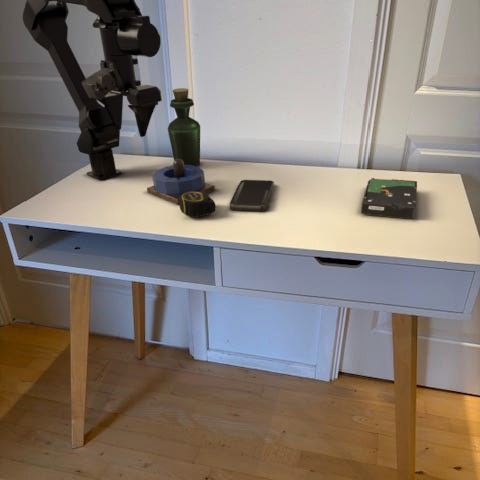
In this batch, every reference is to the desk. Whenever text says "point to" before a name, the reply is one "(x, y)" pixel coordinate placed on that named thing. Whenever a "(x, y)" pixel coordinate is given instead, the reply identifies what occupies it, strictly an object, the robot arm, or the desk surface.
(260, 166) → the desk surface
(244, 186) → the phone
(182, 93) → the potion bottle
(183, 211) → the tape measure
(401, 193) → the disk drive
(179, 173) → the post
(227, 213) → the desk surface
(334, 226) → the desk surface
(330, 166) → the desk surface
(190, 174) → the ring
